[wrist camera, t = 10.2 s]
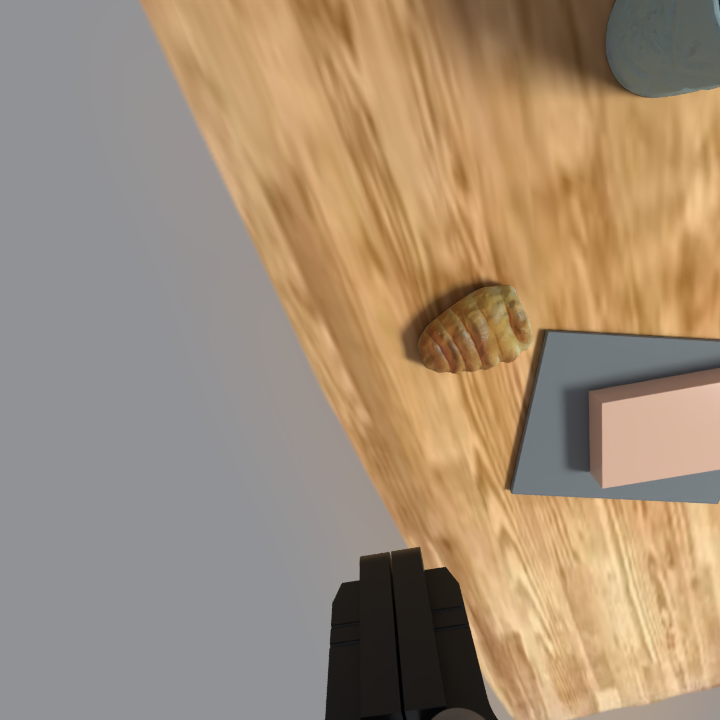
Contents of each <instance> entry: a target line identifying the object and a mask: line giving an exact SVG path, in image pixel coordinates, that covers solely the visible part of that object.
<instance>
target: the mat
mask: <svg viewBox="0 0 720 720" xmlns="http://www.w3.org/2000/svg"><path fill="white" fill-rule="evenodd" d="M715 368H720V340H715V339H697V338H680V337H663V336H645V335H628V334H611V333H593V332H576V331H559V330H546V332H545V336H544V340H543V345H542V349H541V354H540V358H539V363H538V367H537V372H536V376H535V381H534V385H533V390H532V394H531V399H530V403H529V408H528V412H527V416H526V421H525V425H524V430H523V434H522V439H521V443H520V448H519V452H518V457H517V461H516V466H515V470H514V475H513V479H512V484H511V488H510V491H511V493H512V494H524V495H544V496H565V497H586V498H606V499H627V500H648V501H668V502H689V503H710V504H718V503H719V500H720V470H714V471H707V472H701V473H695V474H689V475H683V476H677V477H671V478H665V479H658V480H652V481H646V482H640V483H634V484H628V485H622V486H615V487H609V488H603V489H602V487H601V486H600V485H599V484H598V482H597V481H596V480H595V479H594V477H593V476H592V475H591V474H590V441H589V391H592V390H598V389H603V388H609V387H614V386H620V385H626V384H631V383H637V382H642V381H648V380H654V379H659V378H665V377H670V376H676V375H682V374H687V373H693V372H698V371H704V370H710V369H715Z"/></svg>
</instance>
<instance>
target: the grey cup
mask: <svg viewBox="0 0 720 720" xmlns="http://www.w3.org/2000/svg"><path fill="white" fill-rule="evenodd" d="M606 54H607V60H608V63H609V66H610V69H611V71H612V73H613V75H614V76H615V78H616V79H617V81H618V82H619V83H620V84H621V85H622V86H623V87H624V88H626V89H627V90H629V91H630V92H632V93H635V94H637V95H640V96H644V97H650V98H658V97H668V96H675V95H681V94H686V93H691V92H695V91H699V90H710V89H714V88H717V87H720V0H616V2H615V4H614V6H613V8H612V11H611V14H610V17H609V21H608V24H607V31H606Z"/></svg>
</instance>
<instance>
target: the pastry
mask: <svg viewBox="0 0 720 720" xmlns="http://www.w3.org/2000/svg"><path fill="white" fill-rule="evenodd" d="M532 343H533V335H532V331H531V326H530V322H529V319H528V316H527V314H526V313H525V312H524V310H523V305H522V304H521V302H520V300H519V298H518V295H517V293H516V290H515V289H514V288H513V287H511V286H509V285H498V286H489V287H483V288H480V289H478V290H476V291H474V292H472V293H470V294H468V295H467V296H466V297H464V298H463V299H461V300H459V301H458V302H456V303H455V304H453V305H452V306H451V307H449V308H448V309H447V310H445V311H444V312H443V313H442V314H441V315H439V316H438V317H437V318H436V319H434V320H433V321H432V322H431V323H429V324H428V325H427V326H426V328H425V329H424V331H423V332H422V334H421V335H420V338H419V340H418V344H417V347H418V350H419V354H420V356H421V358H422V360H423V363H424V365H425V367H426V368H428V369H431V370H434V371H436V372H439V373H441V372H451V373H454V374H458V373H460V372H463V371H467V372H475V371H477V370H479V369H484V370H487V369H490V368H492V367H494V366H496V365H497V364H498V363H499V362H506V363H510V362H512V361H514V360H515V359H516V358H517V357H518V355H519V354H520V353H521V352H522V351H524V350H527V349H528V348H529V347H530V346H531V345H532Z"/></svg>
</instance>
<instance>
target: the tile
mask: <svg viewBox="0 0 720 720" xmlns="http://www.w3.org/2000/svg"><path fill="white" fill-rule="evenodd" d="M589 441H590V474H591V475H592V476H593V477H594V479H595V480H596V481H597V482H598V484H599V485H600V486H601V487H602V489H603V488H609V487H615V486H622V485H628V484H634V483H640V482H646V481H652V480H658V479H665V478H671V477H677V476H683V475H689V474H695V473H701V472H707V471H714V470H720V368H715V369H710V370H704V371H698V372H693V373H687V374H682V375H676V376H670V377H665V378H659V379H654V380H648V381H642V382H637V383H631V384H626V385H620V386H614V387H609V388H603V389H598V390H592V391H589Z"/></svg>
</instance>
